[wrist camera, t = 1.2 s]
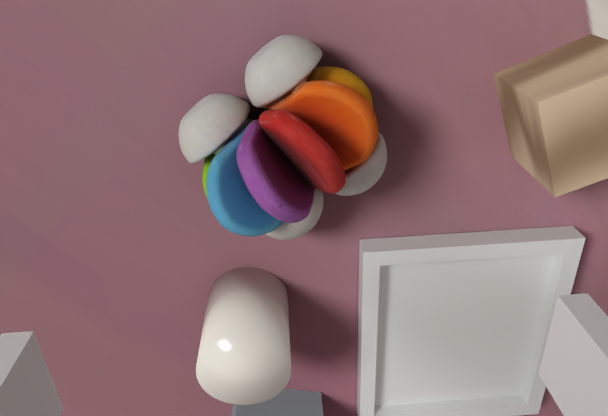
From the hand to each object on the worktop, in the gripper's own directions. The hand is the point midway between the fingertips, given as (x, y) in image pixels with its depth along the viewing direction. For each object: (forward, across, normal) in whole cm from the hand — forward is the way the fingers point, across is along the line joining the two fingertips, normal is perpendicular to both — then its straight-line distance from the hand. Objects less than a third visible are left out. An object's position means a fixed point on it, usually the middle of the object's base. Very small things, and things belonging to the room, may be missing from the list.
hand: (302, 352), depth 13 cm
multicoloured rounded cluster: (+16, 0, 0) cm, 16 cm away
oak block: (+16, +14, +1) cm, 21 cm away
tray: (+16, +10, -14) cm, 24 cm away
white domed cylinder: (+16, -3, -11) cm, 19 cm away
